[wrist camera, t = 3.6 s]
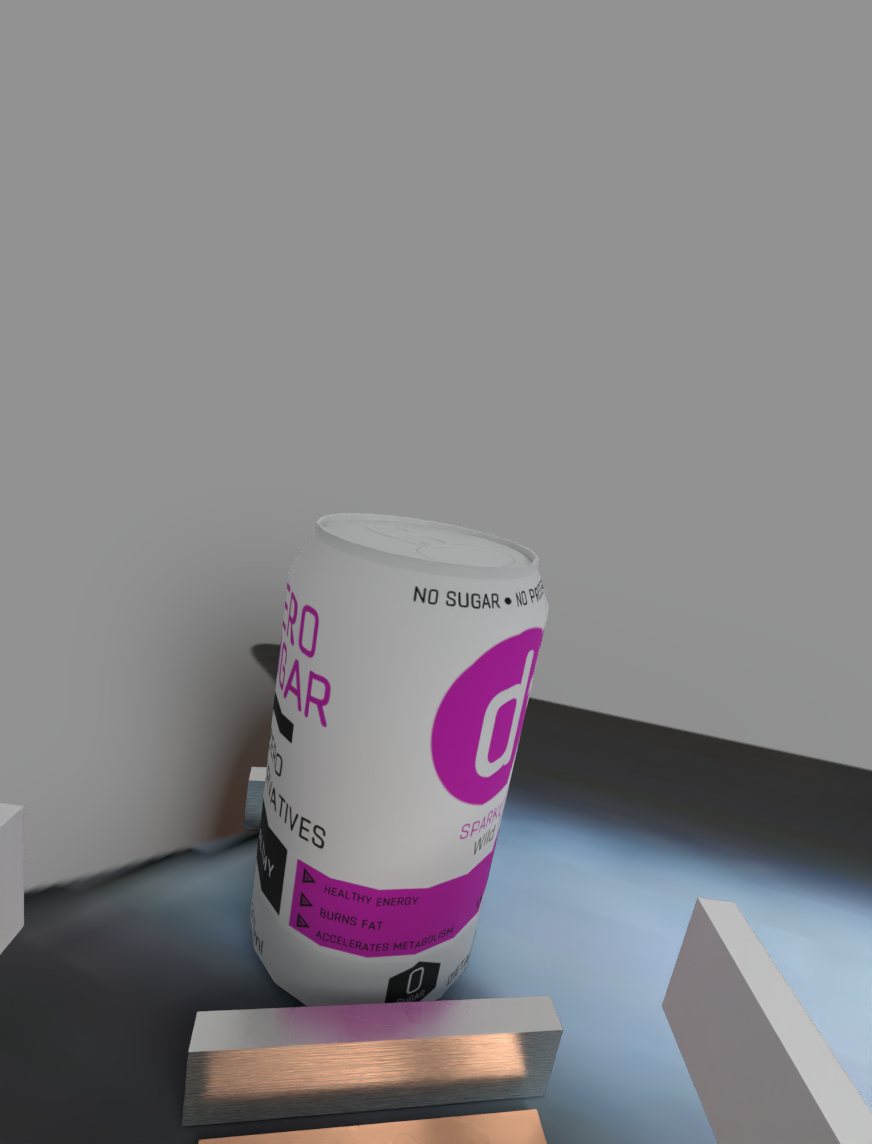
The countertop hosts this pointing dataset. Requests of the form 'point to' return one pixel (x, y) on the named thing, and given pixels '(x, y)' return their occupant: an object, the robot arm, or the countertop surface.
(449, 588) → the sparkling water can
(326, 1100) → the rack with upright dividers
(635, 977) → the countertop surface
